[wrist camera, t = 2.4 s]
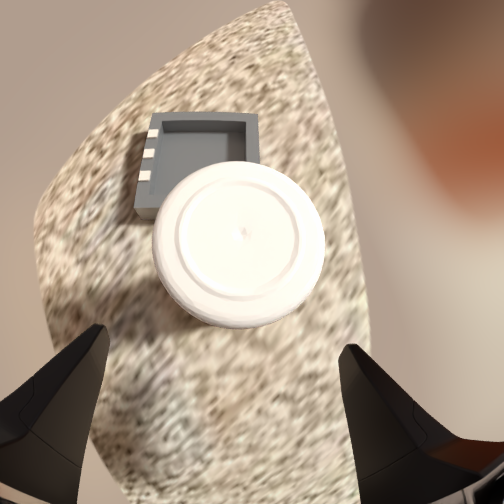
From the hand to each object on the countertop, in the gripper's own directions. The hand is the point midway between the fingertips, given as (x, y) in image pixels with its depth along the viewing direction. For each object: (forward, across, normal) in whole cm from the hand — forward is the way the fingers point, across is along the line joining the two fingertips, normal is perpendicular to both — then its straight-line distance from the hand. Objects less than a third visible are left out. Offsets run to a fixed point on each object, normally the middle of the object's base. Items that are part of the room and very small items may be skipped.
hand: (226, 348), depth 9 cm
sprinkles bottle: (+9, 0, +5) cm, 11 cm away
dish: (+16, +3, -2) cm, 16 cm away
